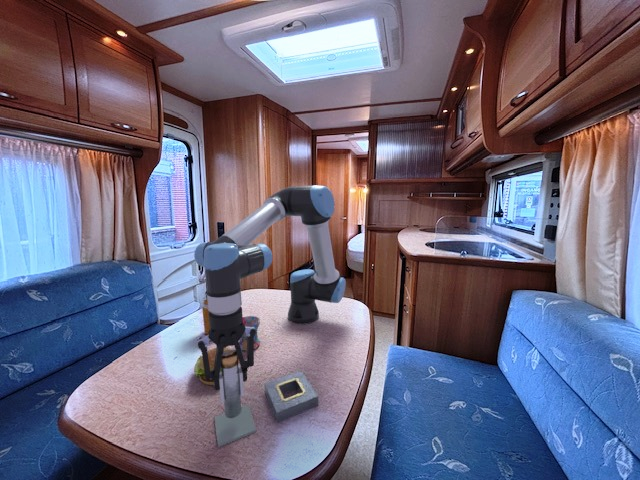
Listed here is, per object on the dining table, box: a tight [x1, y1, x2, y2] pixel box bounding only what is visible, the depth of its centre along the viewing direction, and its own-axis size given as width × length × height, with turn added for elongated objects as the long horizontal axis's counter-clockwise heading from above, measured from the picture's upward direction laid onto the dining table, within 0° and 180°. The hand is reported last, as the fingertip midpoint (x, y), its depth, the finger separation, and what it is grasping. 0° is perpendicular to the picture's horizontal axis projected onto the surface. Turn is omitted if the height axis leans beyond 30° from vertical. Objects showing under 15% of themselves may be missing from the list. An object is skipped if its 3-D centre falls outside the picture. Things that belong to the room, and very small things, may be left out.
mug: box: [239, 315, 261, 352], centre depth 102 cm, size 12×9×11 cm
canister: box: [201, 290, 210, 337], centre depth 110 cm, size 9×11×20 cm
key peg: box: [221, 348, 242, 418], centre depth 64 cm, size 4×4×16 cm
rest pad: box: [214, 404, 257, 448], centre depth 66 cm, size 9×9×1 cm
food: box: [193, 346, 239, 386], centre depth 85 cm, size 14×14×8 cm
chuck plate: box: [264, 370, 319, 423], centre depth 75 cm, size 12×12×3 cm
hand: (232, 395), depth 65 cm, fingers closed on key peg, 4 cm apart
